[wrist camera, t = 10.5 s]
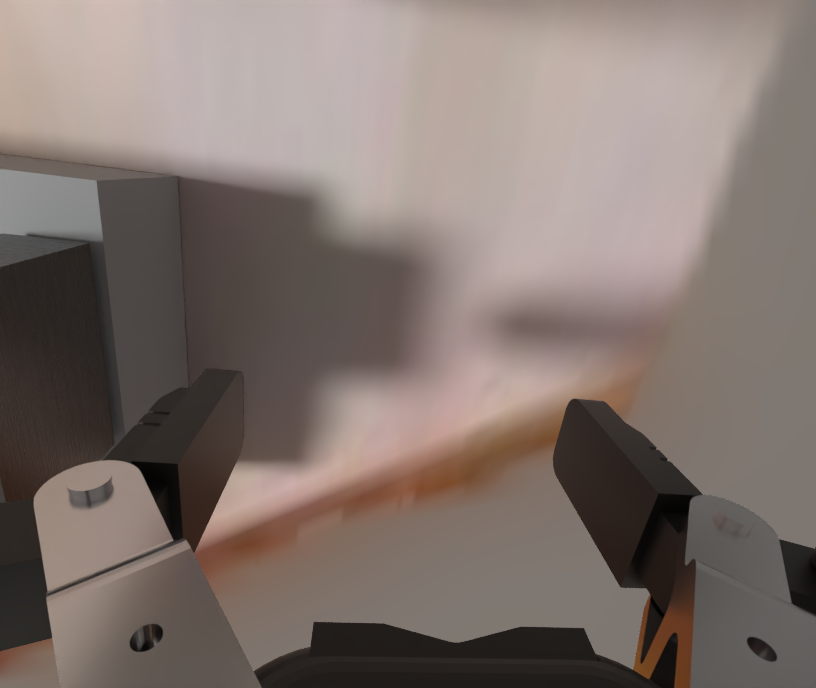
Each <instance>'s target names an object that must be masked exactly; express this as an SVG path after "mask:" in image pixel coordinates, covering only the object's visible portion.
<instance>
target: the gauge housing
mask: <svg viewBox="0 0 816 688" xmlns="http://www.w3.org/2000/svg"><path fill="white" fill-rule="evenodd" d="M3 233H4V234H14V235H23V236H32V237H41V238H50V239H59V240H68V241H77V242H87V243H90V249H91V257H92V265H93V273H94V281H95V290H96V298H97V306H98V314H99V322H100V330H101V338H102V346H103V354H104V362H105V370H106V378H107V386H108V394H109V402H110V410H111V419H112V427H113V435H114V443H115V444H114V445H113V446H112V447H111V448H110V450H109V451H108V452H107V453H106V454H105V455H104V456H103V457H102V458H101V459H100V460H99V461H103V459H104V458H105V457H106V456H107V455H108V454H109V453H110V452H111V451H112V450H113V449H114V447H115V446H116V445H117V444H118V443H119V442H120V441H121V440H122V439H123V438H124V437H125V435H126V434H127V433H128V432H129V431H130V430H131V429H132V428H133V427H134V426H135V425H137V424H138V421H139V420H140V419H141V418H142V417H143V416H144V415H145V414H148V410H149V409H150V408H151V407H152V406H153V405H154V404H155V403H156V402H157V401H158V399H159V398H161V397H162V396H164V395H166V394H168V393H170V392H172V391H174V390H176V389H178V388H180V387H182V388H189V382H188V363H187V344H186V325H185V305H184V286H183V267H182V248H181V229H180V210H179V191H178V176H171V175H163V174H155V173H148V172H140V171H132V170H124V169H116V168H108V167H101V166H93V165H85V164H77V163H69V162H61V161H53V160H46V159H38V158H30V157H22V156H14V155H6V154H0V234H3Z"/></svg>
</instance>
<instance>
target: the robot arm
mask: <svg viewBox="0 0 816 688" xmlns="http://www.w3.org/2000/svg"><path fill="white" fill-rule="evenodd" d="M243 437H244V380H243V374H242V372H241V371H233V370H221V369H206V370H205V371H204V372H203V373H202V375H201V376H200V377H199V378H198V380H197V381H196V382H195V383H194V384H193V386H192V387H191V388H182V387H180V388H178V389H176V390H174V391H172V392H170V393H168V394H166V395H164V396H162V397H161V398H159V399H158V401H157V402H156V403H155V404H154V405H153V406H152V407H151V408H150V409H149V410H148V414H145V415H144V416H143V417H142V418H141V419H140V420H139V421H138V424H137V425H135V426H134V427H133V428H132V429H131V430H130V431H129V432H128V433H127V434H126V435H125V437H124V438H123V439H122V440H121V441H120V442H119V443H118V444H117V445H116V446H115V447H114V449H113V450H112V451H111V452H110V453H109V454H108V455H107V456H106V457H105V458H104V459H103V461H96V462H90V463H85V464H82V465H78V466H75V467H73V468H70V469H68V470H65V471H63V472H61V473H59V474H57V475H56V476H54V477H53V478H51V479H50V480H48V481H47V482H46V483H44V484H43V486H42V487H41V488H40V489H39V490H38V491H37V493H36V495H35V497H34V498H31V499H25V500H19V501H12V502H5V503H0V651H2V650H6V649H10V648H14V647H18V646H22V645H26V644H30V643H34V642H38V641H42V640H46V639H50V638H52V639H53V645H54V651H55V658H56V664H57V670H58V677H59V683H60V688H816V547H815V549H813V548H809V547H806V546H802V545H799V544H795V543H791V542H787V541H784V540H780V539H779V538H778V535H777V534H776V532H775V531H774V529H773V528H772V527H771V526H770V525H769V524H768V523H767V522H766V521H764V520H763V519H762V518H761V517H759V516H758V515H757V514H755V513H754V512H752V511H750V510H749V509H747V508H745V507H743V506H741V505H739V504H737V503H735V502H732V501H729V500H727V499H724V498H721V497H716V496H711V495H703V494H701V492H700V491H699V490H698V489H697V488H696V487H695V486H694V485H693V484H692V483H691V482H690V481H689V480H688V479H687V478H686V477H685V476H684V475H683V474H682V473H681V472H680V471H679V470H678V469H677V468H676V467H675V466H674V465H673V464H672V463H671V462H668V461H667V458H666V457H665V456H664V455H663V454H662V453H661V452H660V451H659V450H656V447H655V446H654V445H653V444H652V443H651V442H650V441H649V440H648V439H647V438H646V437H645V436H644V435H643V434H642V433H641V432H639V431H637V430H636V429H634V428H632V427H631V426H629V425H628V424H626V423H625V422H624V421H623V420H622V419H621V418H620V417H619V416H618V415H617V414H616V413H615V412H614V411H613V409H612V408H611V407H610V406H609V405H608V404H607V403H605V402H604V401H595V400H583V399H572V400H571V401H570V402H569V404H568V405H567V408H566V411H565V415H564V418H563V422H562V425H561V429H560V432H559V436H558V439H557V443H556V446H555V450H554V455H553V466H554V471H555V474H556V476H557V478H558V480H559V482H560V484H561V485H562V487H563V489H564V490H565V492H566V494H567V495H568V497H569V499H570V501H571V502H572V504H573V506H574V508H575V509H576V511H577V513H578V515H579V516H580V518H581V520H582V522H583V523H584V525H585V527H586V528H587V530H588V532H589V534H590V535H591V537H592V539H593V541H594V542H595V544H596V546H597V547H598V549H599V551H600V552H601V554H602V556H603V558H604V560H605V561H606V563H607V565H608V566H609V568H610V570H611V572H612V573H613V575H614V577H615V579H616V580H617V582H618V584H619V585H620V587H623V588H647V590H648V591H649V593H650V594H649V597H648V599H647V601H646V604H645V606H644V611H643V616H642V622H641V627H640V633H639V639H638V644H637V650H636V656H635V661H634V667H633V670H632V669H630V668H628V667H626V666H624V665H622V664H620V663H618V662H616V661H613V660H610V659H608V658H605V657H603V656H600V655H597V654H595V652H594V650H593V648H592V646H591V643H590V641H589V639H588V637H587V635H586V632H585V630H584V628H551V627H519V628H514V629H511V630H507V631H503V632H499V633H495V634H491V635H488V636H484V637H480V638H476V639H473V640H469V641H465V642H460V643H453V642H448V641H444V640H441V639H437V638H434V637H430V636H426V635H423V634H419V633H416V632H411V631H408V630H405V629H401V628H397V627H394V626H390V625H386V624H376V623H332V622H314V625H313V632H312V640H311V647H308V648H304V649H300V650H297V651H294V652H291V653H288V654H286V655H283V656H281V657H278V658H276V659H274V660H272V661H271V662H269V663H267V664H265V665H263V666H262V667H260V668H258V669H257V670H255V671H253V670H252V667H251V665H250V664H249V662H248V660H247V658H246V656H245V654H244V652H243V650H242V648H241V646H240V644H239V642H238V640H237V638H236V636H235V634H234V632H233V630H232V628H231V626H230V624H229V622H228V620H227V618H226V616H225V614H224V612H223V610H222V608H221V606H220V604H219V602H218V600H217V598H216V596H215V594H214V592H213V590H212V588H211V586H210V584H209V582H208V580H207V578H206V576H205V574H204V572H203V570H202V569H201V567H200V565H199V563H198V561H197V559H196V557H195V555H194V552H195V550H196V548H197V546H198V544H199V541H200V539H201V537H202V535H203V533H204V531H205V528H206V526H207V524H208V522H209V520H210V518H211V516H212V513H213V511H214V509H215V507H216V505H217V503H218V500H219V498H220V496H221V494H222V492H223V490H224V488H225V485H226V483H227V481H228V479H229V477H230V475H231V472H232V470H233V468H234V466H235V464H236V462H237V460H238V457H239V455H240V452H241V448H242V444H243Z"/></svg>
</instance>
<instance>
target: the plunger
mask: <svg viewBox="0 0 816 688" xmlns="http://www.w3.org/2000/svg"><path fill="white" fill-rule="evenodd" d="M114 444H115V443H114V435H113V427H112V419H111V410H110V402H109V394H108V386H107V378H106V370H105V362H104V354H103V346H102V338H101V330H100V322H99V314H98V306H97V298H96V290H95V281H94V273H93V265H92V257H91V249H90V243H87V242H77V241H68V240H59V239H50V238H41V237H32V236H23V235H14V234H4V233H3V234H0V503H5V502H12V501H19V500H25V499H31V498H34V497H35V495H36V493H37V491H38V490H39V489H40V488H41V487H42V486H43V484H44V483H46V482H47V481H48V480H50V479H51V478H53V477H54V476H56V475H57V474H59V473H61V472H63V471H65V470H68V469H70V468H73V467H75V466H78V465H82V464H85V463H90V462H96V461H99V460H100V459H101V458H102V457H103V456H104V455H105V454H106V453H107V452H108V451H109V450H110V448H111V447H112V446H113V445H114Z"/></svg>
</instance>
